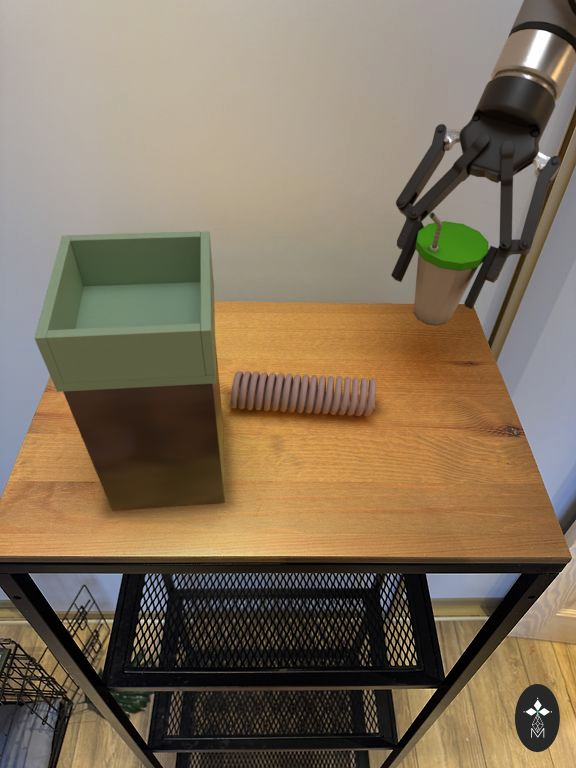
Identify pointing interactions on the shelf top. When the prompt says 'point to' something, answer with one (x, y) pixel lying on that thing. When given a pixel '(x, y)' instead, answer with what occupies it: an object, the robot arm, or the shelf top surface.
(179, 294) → the bin
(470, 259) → the cup
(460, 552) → the shelf top surface
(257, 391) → the coil
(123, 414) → the stand
